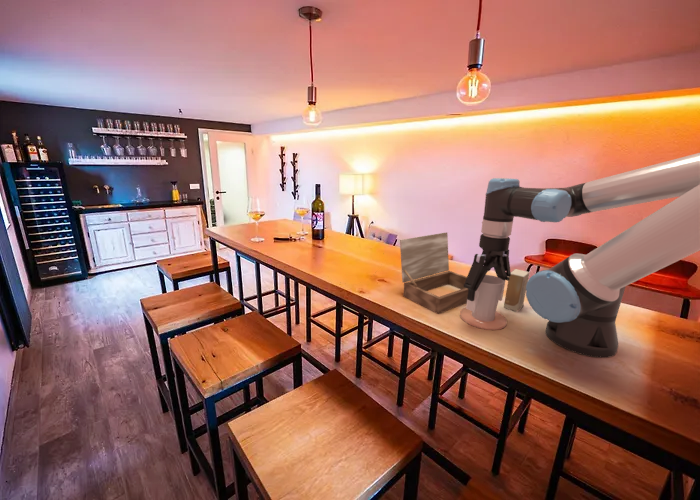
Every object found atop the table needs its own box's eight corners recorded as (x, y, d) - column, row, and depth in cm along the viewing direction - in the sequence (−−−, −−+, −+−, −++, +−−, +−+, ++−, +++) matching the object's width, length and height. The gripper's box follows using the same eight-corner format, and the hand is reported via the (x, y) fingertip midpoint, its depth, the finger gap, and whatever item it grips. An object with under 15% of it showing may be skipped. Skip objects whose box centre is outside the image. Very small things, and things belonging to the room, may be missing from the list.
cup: (500, 324, 84) (507, 285, 81) (471, 321, 86) (477, 282, 82) (493, 311, 92) (499, 275, 88) (466, 308, 93) (471, 273, 90)
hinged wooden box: (483, 296, 105) (491, 242, 99) (438, 313, 91) (444, 252, 86) (440, 279, 120) (445, 232, 114) (396, 292, 106) (399, 239, 101)
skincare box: (509, 302, 100) (515, 268, 97) (523, 306, 97) (530, 271, 94) (502, 307, 96) (508, 272, 93) (517, 312, 93) (524, 276, 90)
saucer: (515, 321, 87) (515, 319, 87) (490, 334, 80) (490, 332, 80) (475, 305, 97) (476, 303, 97) (450, 315, 90) (451, 313, 90)
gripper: (505, 228, 92) (495, 291, 97) (455, 237, 78) (447, 309, 84) (531, 232, 86) (518, 299, 91) (481, 243, 72) (470, 321, 78)
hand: (484, 304), depth 88 cm, fingers open, 13 cm apart
